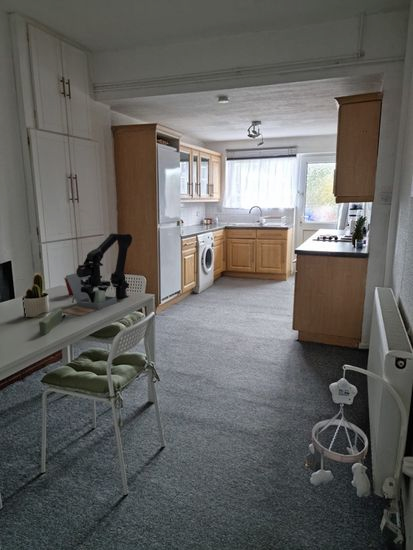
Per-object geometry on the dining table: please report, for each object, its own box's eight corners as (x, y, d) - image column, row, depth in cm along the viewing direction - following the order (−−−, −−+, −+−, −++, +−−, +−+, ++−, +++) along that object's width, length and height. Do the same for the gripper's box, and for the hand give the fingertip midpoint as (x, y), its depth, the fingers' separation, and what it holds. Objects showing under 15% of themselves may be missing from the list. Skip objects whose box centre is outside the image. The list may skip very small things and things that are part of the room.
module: (95, 302, 217) (94, 289, 215) (105, 304, 213) (104, 290, 212) (88, 304, 213) (87, 291, 211) (99, 306, 209) (98, 292, 207)
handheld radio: (38, 335, 166) (61, 317, 191) (45, 335, 166) (68, 317, 191) (37, 321, 165) (61, 305, 189) (45, 321, 165) (67, 305, 189)
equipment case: (87, 298, 226) (85, 270, 223) (116, 302, 216) (115, 273, 213) (68, 304, 212) (65, 275, 209) (98, 309, 203) (96, 278, 199)
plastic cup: (85, 292, 240) (84, 274, 238) (79, 296, 230) (77, 278, 227) (69, 292, 241) (67, 274, 238) (62, 296, 230) (60, 277, 228)
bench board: (75, 306, 208) (75, 305, 208) (96, 310, 202) (96, 309, 202) (60, 312, 199) (60, 311, 198) (81, 316, 192) (81, 314, 192)
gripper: (95, 270, 221) (97, 295, 224) (72, 276, 205) (74, 303, 208) (110, 271, 216) (112, 297, 219) (87, 278, 200) (89, 305, 203)
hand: (97, 301), depth 213 cm, fingers open, 7 cm apart
